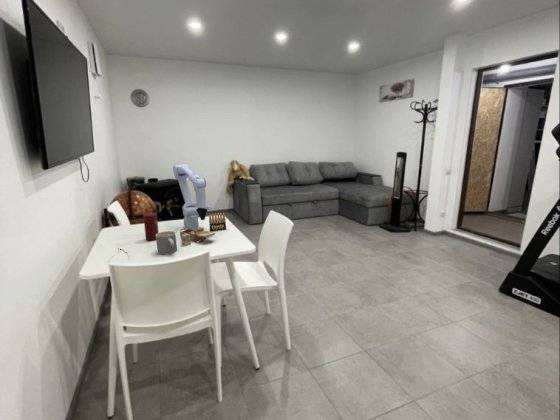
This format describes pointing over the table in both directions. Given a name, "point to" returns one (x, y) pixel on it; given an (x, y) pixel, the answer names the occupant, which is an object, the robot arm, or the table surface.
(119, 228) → the table surface
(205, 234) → the lid
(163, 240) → the coffee mug
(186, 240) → the tan wooden block
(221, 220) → the ammunition clip
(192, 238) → the wooden box
